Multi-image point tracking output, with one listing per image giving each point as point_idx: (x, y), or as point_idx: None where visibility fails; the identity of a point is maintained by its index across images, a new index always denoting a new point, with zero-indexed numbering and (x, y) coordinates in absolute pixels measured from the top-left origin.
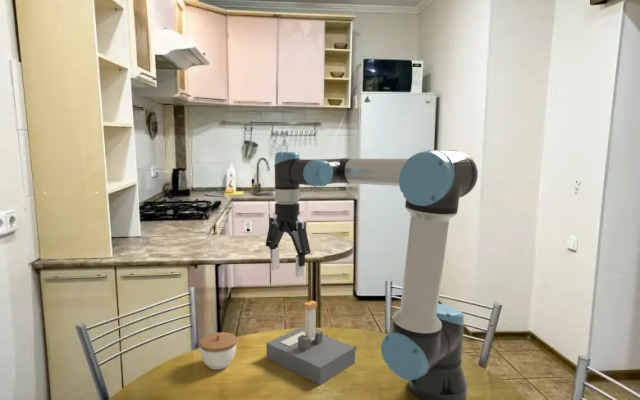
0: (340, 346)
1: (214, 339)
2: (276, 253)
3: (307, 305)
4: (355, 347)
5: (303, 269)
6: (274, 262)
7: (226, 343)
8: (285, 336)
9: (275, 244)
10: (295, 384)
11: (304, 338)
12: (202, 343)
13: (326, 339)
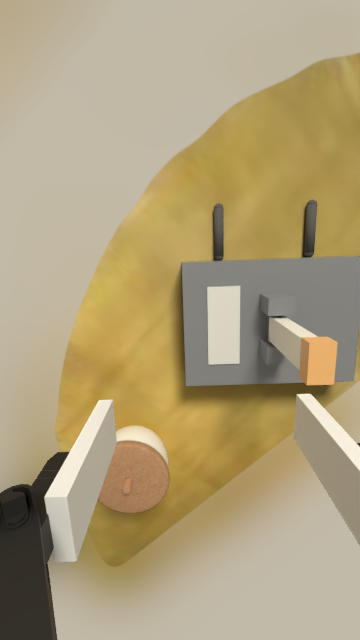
0: (334, 279)
1: (122, 486)
2: (85, 495)
3: (324, 383)
4: (316, 204)
5: (326, 411)
6: (105, 464)
7: (157, 479)
8: (193, 334)
9: (49, 592)
10: (296, 394)
11: (285, 359)
12: (120, 509)
13: (283, 274)
